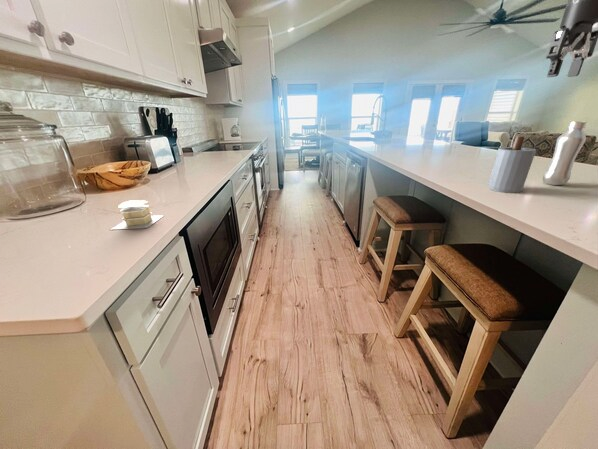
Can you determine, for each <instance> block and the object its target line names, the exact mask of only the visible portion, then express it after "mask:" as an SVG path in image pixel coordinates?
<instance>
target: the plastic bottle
mask: <svg viewBox="0 0 598 449" xmlns="http://www.w3.org/2000/svg"><path fill="white" fill-rule="evenodd" d="M587 123H588V122H587V121H570V122H569V123H568V126H567V127H566V128H567V130H566V131H563V133H561V135H559V136H558V137H557V138H556V143H555V146H554V147H555V148H554V152H553V156H552V159H551V161H550V163H549V165H548V166H547V169H546V170H545V172H544V173H543V175H542V183H544V184H548V185H550V186H551V185H552V186H563V185H565V184H567V183H568V182H569V181H570V179H571V175H572V169H573V166H574V163H575V161H576V158H577V157H578V155H579V153H580V151H581V149H582V147H583V146H584V144H585V142H586V141H587V136H586V134H585V131H584V129H585V128H586V125H587Z"/></svg>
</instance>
